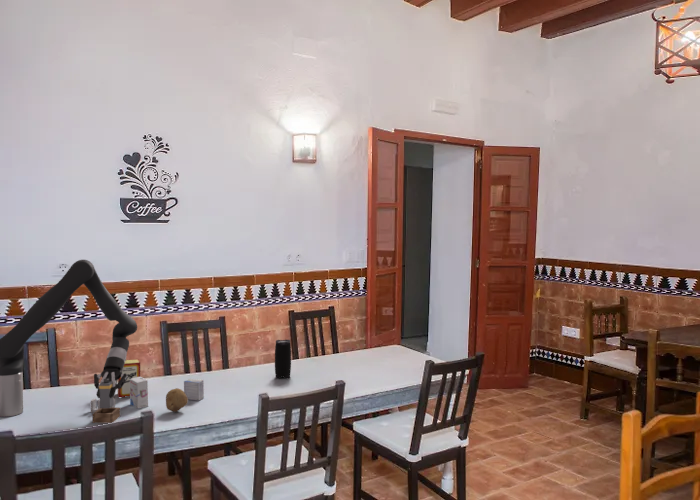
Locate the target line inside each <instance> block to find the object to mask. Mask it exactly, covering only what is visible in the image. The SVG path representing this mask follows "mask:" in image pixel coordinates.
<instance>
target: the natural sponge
mask: <svg viewBox="0 0 700 500" xmlns="http://www.w3.org/2000/svg"><path fill="white" fill-rule="evenodd" d="M188 401H189V400H188V398H187V396H186V394H185V393H184V390H183V389H180V388H178V387H177V388H176V387H175V388H172V389H170V390H169V391H168V392H167V393H166V395H165V406H166V407H165V408H166V409H167V410H168V411H171V412H172V413H176V412H179V411H180V410H181V409H182V408H184V407H186V406H187V405H188Z"/></svg>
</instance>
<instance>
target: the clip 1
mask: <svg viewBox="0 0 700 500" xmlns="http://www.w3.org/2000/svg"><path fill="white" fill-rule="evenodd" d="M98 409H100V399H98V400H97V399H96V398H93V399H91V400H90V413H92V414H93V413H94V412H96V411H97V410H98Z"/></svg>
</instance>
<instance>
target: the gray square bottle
mask: <svg viewBox="0 0 700 500" xmlns="http://www.w3.org/2000/svg"><path fill="white" fill-rule="evenodd" d="M112 383H113V382H112V381H109V378H105V379H104V382H102V383H101V382H99V389H100V398H99V400H100V408H111V407H112V406H113V405H114V399H115V398H114V397H115V396H114V397H112V398H110V397H109V394H110V390H111V388H112Z"/></svg>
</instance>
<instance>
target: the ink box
mask: <svg viewBox="0 0 700 500" xmlns="http://www.w3.org/2000/svg"><path fill="white" fill-rule="evenodd" d="M148 386H149V385H148V379H146V378H144V377H142V376H140V377H136V378H132V379H130V397H129V399H130V400H129V404H130V405H131V406H132V407H135V408H136V409H142V408H146V407H149V389H148Z"/></svg>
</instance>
